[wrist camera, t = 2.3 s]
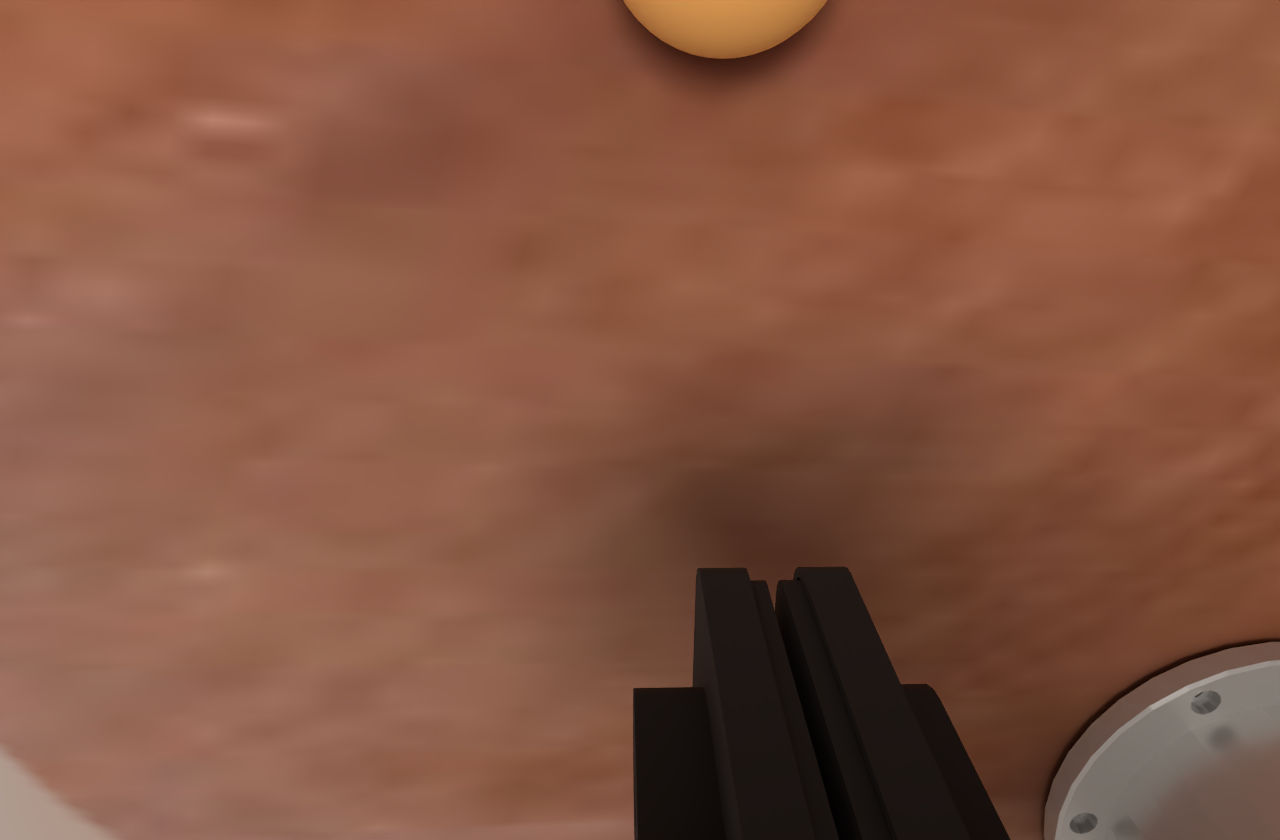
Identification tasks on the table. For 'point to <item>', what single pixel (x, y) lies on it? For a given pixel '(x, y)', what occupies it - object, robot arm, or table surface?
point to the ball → (724, 23)
